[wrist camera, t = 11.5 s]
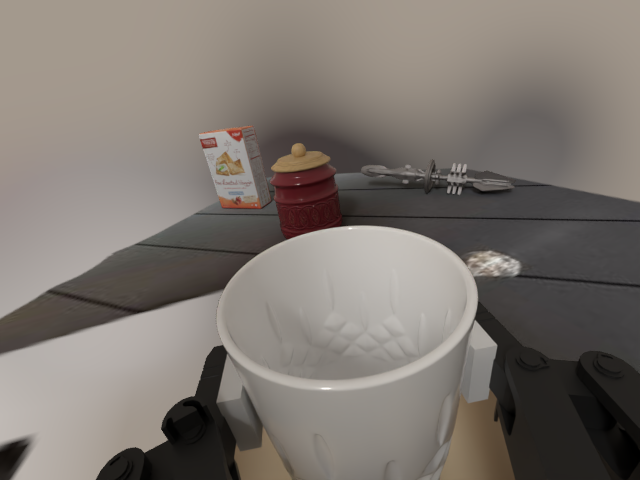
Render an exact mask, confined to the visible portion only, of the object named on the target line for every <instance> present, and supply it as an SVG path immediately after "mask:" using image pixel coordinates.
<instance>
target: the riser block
mask: <svg viewBox="0 0 640 480" xmlns="http://www.w3.org/2000/svg"><path fill="white" fill-rule="evenodd" d="M496 401H497V398H496V396H495V395H494V394H493V392H492V391H491V389H490V390H489V396H488V399H486V400H481V401H476V402H472V403H467V401H466V399H465V398H464V396H463V395H462V393H461V397H460V402H459V408H458V413H457V419H456V424H455V428H454V432H453V435H452V440H451V444H450V448H449V453H448V457H447V459H446V462H445V464H444V467H443V469H442V472H441V475H440V480H515V477H514V473H513V469H512V465H511V462H510V458H509V454H508V450H507V446H506V443H505V439H504V435H503V431H502V427H501V424H500V420H499V417H498V421H497V422H494V411H495V406H496ZM234 459H235V461H236V463H237V465H238V469H239V473H240V477H241V480H292V478H291V476H290V475H289V473H288V472H287V470H286V469H285V467H284V465H283V463H282V461H281V459H280V457H279V455H278V453H277V451H276V450H275V448H274V446H273V444H272V443H271V441H270V439H269V437H268V435H267V433H266V431H265V429H264V427H263V432H262V447H260V448H255V449H251V450H246V451H241V452H240V450H239V448H238V446H237V444H236V448H235V455H234Z"/></svg>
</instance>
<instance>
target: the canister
mask: <svg viewBox="0 0 640 480" xmlns="http://www.w3.org/2000/svg"><path fill="white" fill-rule="evenodd" d="M329 161H330V157H328V156H326V155H324V154H322V153H321V152H318V151H311V152H306V149H305V147H304V145H302V144H300V143H298V144H295V145H293V147H292V154H291V155H287V156H284V157H282V158H279V159H278V161H277V162H276V163H275V164H274V165H273V166H272V168H271V169H272V170H273V171H274V172H275V174H274V176H273V177H272V178H271V179H270V183H271V184H272V185H273V186H274V189H275V195H274V200H275V202H276V206H277V210H278V215H279V219H280V227H281V231H282V233H283V235H284V237H285V238H286V239H287V240H288V239H291V238H294V237H297V236H300V235H303V234H306V233H310V232H314V231H318V230H323V229H329V228H335V227H342V214H341V212H340V204H339V196H338V185H337V184H336V183H335V179H334V175H335V174H336V169H335V168H334V167H332V166H330V165H329V163H328V162H329Z"/></svg>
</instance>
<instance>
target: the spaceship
mask: <svg viewBox="0 0 640 480" xmlns="http://www.w3.org/2000/svg"><path fill="white" fill-rule="evenodd" d="M466 166H467V165H466V164H464V166H463V170H462V172H460V170H461V164H459V165H458V168H457V172H456V171H455V167H456V164H455V163H454V164H453V167H452V170H451V173H449V174H448V176H444V175H441V174H440V173H441V170H437V172H436V173H435V162H434V160H433V159H432V160H431V161H430V163H429V165H428V166H427V169H426V172H423V171H422V170H420V169H411V165H410V164H407V165H406V166H405V168H397V169H387V168H385V167H384V166H377V165H376V166H375V165H367V166H364V167H362V168H361V172H362V173H363V174H364V175H367V176H370V177H384V176H392V177H395V178H398V179H401V180H403V184H408V182H409V180H411V181H420V180H423V179H424V187H425V192H426V193H428V192H429V190H430V189H431V187H432V184H433V181H434V183H435V185H438V183H439V180H446V181H447V183H448V190H447V193H450V190H451V187H452V185H453V192H452V194H455V192H456V188H457V186H458V187H459V188H458V194H459V195H460V193H461V190H462V187H463V185H466V183H473V187H474V188H476V189H477V190H479V191H481V192H487V191H499V190H504V189H507V190H509V189H513V188H514V186H511V185H510V184H511V183H515V182H516V180H513V179H512V178H508V177H506V176H502V175H499V174H496V173H493V172H489V171H484V172H481V173H478V174H475V178H469V177H467V176H468V175H465V174H466V173H467V172H466Z"/></svg>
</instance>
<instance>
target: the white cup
mask: <svg viewBox="0 0 640 480" xmlns="http://www.w3.org/2000/svg"><path fill="white" fill-rule="evenodd" d="M477 305H478V292H477V287H476V283H475V280H474V278H473V275H472V273H471V272H470V270H469V268H468V267H467V266H466V264H465V263H464V262H463V261H462V260H461V259H460V258H459V257H458V256H457V255H456V254H455V253H454V252H452V251H451V250H450V249H448V248H447V247H445V246H444V245H442V244H440V243H438V242H436V241H434V240H432V239H430V238H428V237H425V236H423V235H420V234H417V233H414V232H410V231H406V230H402V229H396V228H390V227H382V226H344V227H335V228H329V229H323V230H318V231H314V232H310V233H306V234H303V235H300V236H297V237H294V238H291V239H288V240H286V241H283V242H281V243H279V244H277V245H275V246H273V247H271V248H269V249H267V250H265V251H264V252H262V253H260V254H259V255H257V256H256V257H254V258H253V259H252V260H250V261H249V262H248V263H246V264H245V265H244V266H243V267H242V268H241V269H240V270H239V271H238V272H237V273H236V274H235V275H234V276H233V277H232V279H231V280H230V281H229V283H228V284H227V286H226V287H225V289H224V291H223V293H222V295H221V297H220V300H219V303H218V306H217V313H216V324H217V330H218V334H219V337H220V339H221V342H222V343H223V346H224V348H225V350H226V352H227V354H228V356H229V358H230V360H231V362H232V364H233V366H234V368H235V370H236V372H237V374H238V376H239V378H240V380H241V382H242V384H243V386H244V388H245V390H246V392H247V394H248V396H249V398H250V400H251V402H252V404H253V406H254V408H255V411H256V413H257V415H258V417H259V419H260V421H261V423H262V425H263V427H264V429H265V431H266V433H267V435H268V437H269V439H270V441H271V443H272V444H273V446H274V448H275V450H276V451H277V453H278V455H279V457H280V459H281V461H282V463H283V465H284V467H285V469H286V470H287V472H288V473H289V475H290V476H291V478H292V480H440V475H441V472H442V469H443V467H444V464H445V462H446V459H447V457H448V453H449V448H450V444H451V440H452V435H453V432H454V428H455V424H456V419H457V413H458V408H459V402H460V397H461V391H462V386H463V380H464V375H465V369H466V364H467V358H468V353H469V347H470V342H471V337H472V332H473V327H474V322H475V316H476V311H477Z"/></svg>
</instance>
